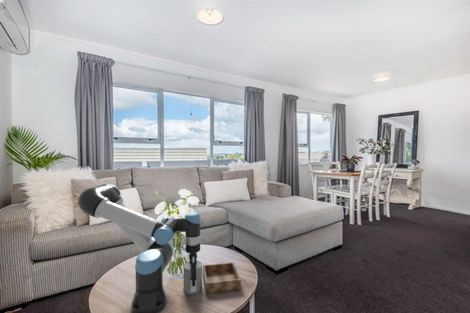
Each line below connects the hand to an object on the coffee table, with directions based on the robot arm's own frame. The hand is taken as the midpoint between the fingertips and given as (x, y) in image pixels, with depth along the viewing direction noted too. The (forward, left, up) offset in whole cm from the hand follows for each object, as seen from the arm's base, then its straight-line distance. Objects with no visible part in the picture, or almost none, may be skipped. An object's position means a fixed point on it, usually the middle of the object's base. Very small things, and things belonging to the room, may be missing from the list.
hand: (193, 283), depth 121 cm
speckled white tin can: (0, 0, -3) cm, 3 cm away
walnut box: (+15, +3, -2) cm, 15 cm away
